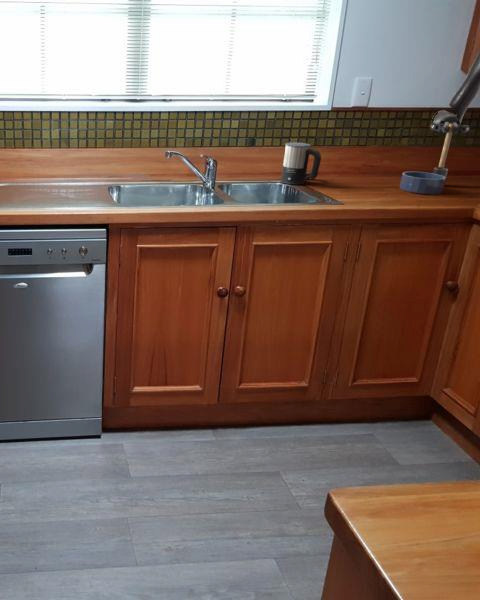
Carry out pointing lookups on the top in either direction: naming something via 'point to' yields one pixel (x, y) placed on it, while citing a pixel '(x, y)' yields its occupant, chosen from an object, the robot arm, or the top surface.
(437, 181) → the bowl
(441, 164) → the stick
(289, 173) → the milk frother
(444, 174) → the holder
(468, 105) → the robot arm
